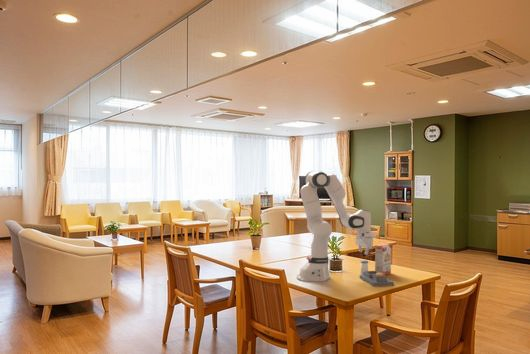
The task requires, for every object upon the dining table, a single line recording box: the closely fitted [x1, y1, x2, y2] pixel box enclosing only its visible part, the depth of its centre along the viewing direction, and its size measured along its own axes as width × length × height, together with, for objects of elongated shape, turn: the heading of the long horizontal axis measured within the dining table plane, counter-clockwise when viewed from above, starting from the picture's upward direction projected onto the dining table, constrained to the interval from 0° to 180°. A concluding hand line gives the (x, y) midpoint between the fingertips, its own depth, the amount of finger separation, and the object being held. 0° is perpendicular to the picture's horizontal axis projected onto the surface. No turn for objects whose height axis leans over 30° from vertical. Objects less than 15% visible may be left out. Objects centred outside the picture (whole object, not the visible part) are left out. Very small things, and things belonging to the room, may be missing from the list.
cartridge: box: [360, 259, 369, 275], centre depth 269 cm, size 5×5×10 cm
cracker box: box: [374, 242, 392, 276], centre depth 270 cm, size 14×6×21 cm, turn 139°
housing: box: [359, 270, 395, 287], centre depth 252 cm, size 14×20×6 cm
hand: (363, 253), depth 269 cm, fingers open, 8 cm apart
